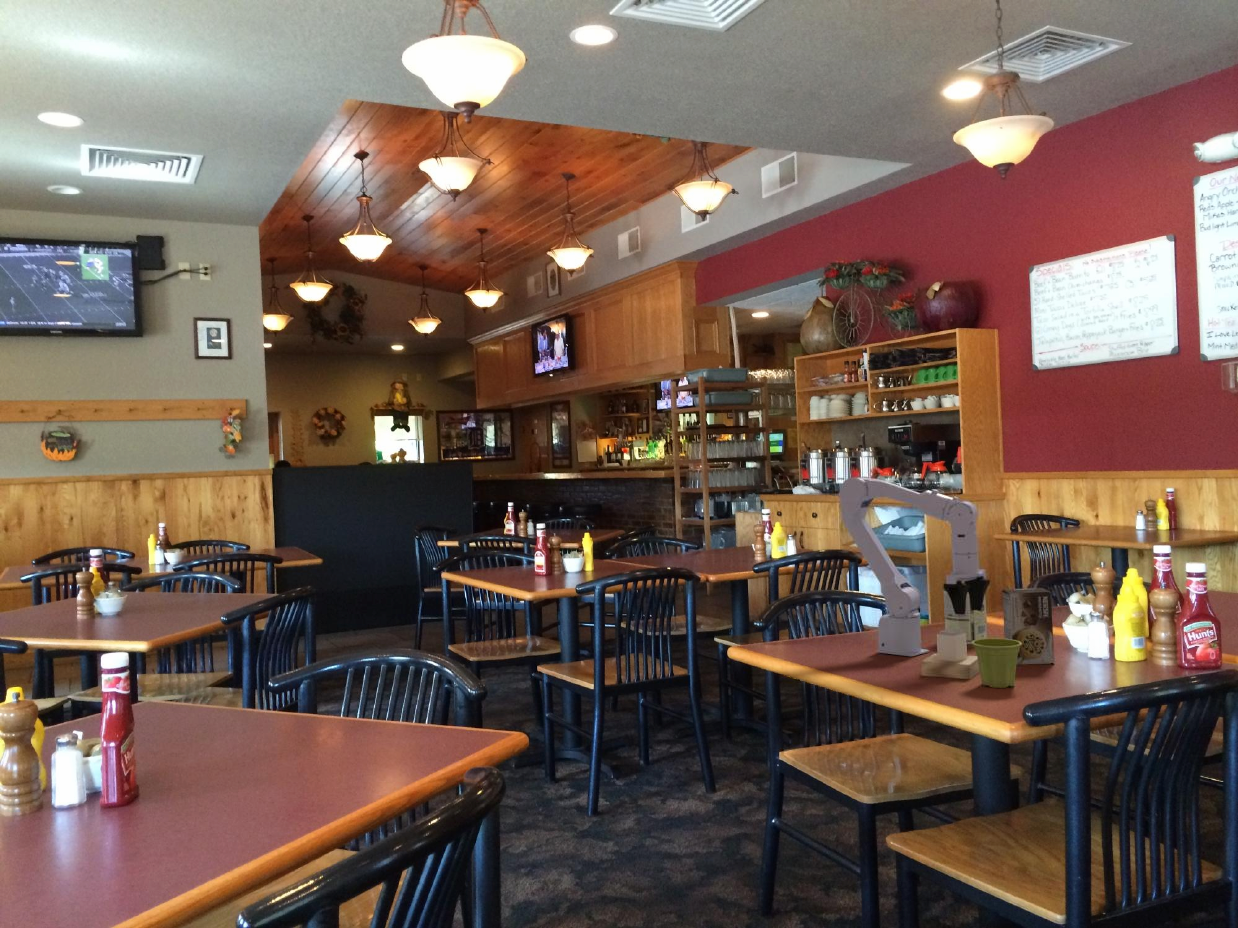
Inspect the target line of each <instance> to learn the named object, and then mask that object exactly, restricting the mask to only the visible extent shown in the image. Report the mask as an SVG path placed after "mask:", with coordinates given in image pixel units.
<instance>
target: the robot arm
mask: <svg viewBox="0 0 1238 928" xmlns="http://www.w3.org/2000/svg"><path fill="white" fill-rule="evenodd" d="M883 497H884V498H888V499H891V500H894V501H897V502H902V503H906V504H908V505H911V506H915V507H916V509H917V510H918V512H919V513H920V514H922V515H925V516H928V517H931V518H934V519H938V520H940V521H943V522H948V523H949V524H950V529H951V534H950V538H951V540H950V541H951V556H952V572H951V573H950V574H946V576H945V579H946V580H945V581H946V582H944V583H942V584H943V585H944V589H945V590H946V591H947V593H948V595H949V597H950V599H951V602H952V605H953V609H954V612H955V614H959V615H964V614H965V611H966V596H967V592H968V593H969V597H970V604H971V608H972V610H979V611H980V610H982V605H983V600H984V595H985V592H987V589H988V587H989V585H990V583H991V580H990V578H987V570H986V569H980V564H979V563H980V560H979V544H978V541H979V540H978V531H977V522H976V521H977V520H978V517H979V510H978V507H977V506H976V505H975V504H974V503H973V502H970V501H969V500H967V499H966V500H965V499H964V500H961V501H960V500H959V497H957V496H953V497H951V496H948V495H945V494H941V493H940V492H939V490H937V489H931V490H925V491H923V492H917V491H915V490H912V489H910V488H907V487H905V486H902V485H898V484H895V483H893V482H890V481H887V480H882V479H880V478H871V477H869V476H860V477H848V478H846V479H845V480H844V481H843V483H842V485H841V487H840V489H839V492H838V498H839V501H840V514H841V516H840V517H841V521H842V524H843V525H844V527H845V528H846V530H847V532H848V533H849V535H850V537H851V538H852V540H853V541H854V543H855V544H856V546H857V548H858V550H859V551H860V553H861V555H862V556H863V558H864V559H865V560H866V563H867V564H868V566H869V567H870V569H871V570H872V572H873V574H874V575H875V577H876V579H877V581H878V582H879V584H880V592H881V594H882V596H883V598H884V604H885V607H886V608H885V609H886V610H887V611H888V614H883V615H882V616H880V617H879V620H878V622H877V623H878V624H877V626H878V627H877V634H878V635H877V636H878V637H877V638H878V639H877V640H878V649H877V650H876V652H877V653H881V654H888V655H897V656H904V657H914V656H918V655H922V654H926V653H929V652H930V650H929V649H924V648H922V637H921V636H922V635H921V613H920V612H919V610H918V609H919V608H920V607H921V606H922V601H923V598H922V597H923V596H922V593H921V592H920V591H919V590H918V588H916V587H915V586H913V585H912V583H910V582H909V580H908V579H907V578H906V577H905V576H904V575H902V574H901V573H900V571H899V570H898V569H897V567H896V565H895V564H894V562H893V561H892V558H891V557H890V556H889V553H888V552H887V551H886V550H885V548H884V546H883V545H882V543H881V541H880V540H879V538H878V536H877V535H876V533H875V532H874V530H873V528H872V527H871V525H870V524H869V522H868V521H867V519H866V515H867V513H868V509H869V506H870V505H871V504H872V502H873V501H874V500H875V499H877V498H883ZM963 583H965V584H966V585H963ZM943 585H942V586H943Z"/></svg>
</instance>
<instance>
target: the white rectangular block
mask: <svg viewBox="0 0 1238 928" xmlns="http://www.w3.org/2000/svg"><path fill="white" fill-rule="evenodd" d="M967 645H968V644H967V643H966V633H963V631H961V630H951V629H947V630H945V629H943V630H939V633H937V634H936V649H937V650H936V654H937V655H938V660H946V661H954V662H958V661H961V660H964V659H967V656H968V649H967V648H968V647H967Z"/></svg>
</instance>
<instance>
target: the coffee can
mask: <svg viewBox="0 0 1238 928" xmlns="http://www.w3.org/2000/svg"><path fill="white" fill-rule="evenodd" d="M962 583H963V585H966V584H965V582H962ZM942 590H943V607H944V608H943V609H944V612H943V613H944V626H945V627H944V630H947V629H951V630H961V631H963V633H966V643H967V645H972V641H974V640H977V639H988V638H989V637H988V619H987V616H988V615H987V594H986V592H987V591H986V592H985V595H984V600H983V605H982V610H980V611H979V610H972V608H971V604H970V597H969V593H968V592H967V596H966V611H965V614H964V615H959V614H955V612H954V609H953V605H952V602H951V599H950V597H949V595H948V593H947V591H946V590H945V589H944V585H942Z"/></svg>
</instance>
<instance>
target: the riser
mask: <svg viewBox="0 0 1238 928" xmlns="http://www.w3.org/2000/svg"><path fill="white" fill-rule="evenodd" d="M920 662H921V676H924V677H936V678H937V677H938V678H946V679H948V678H949V679H961V680H971V679H973V678H974V677H975V676H976V675H978V674H980V670H979V664H978V659H977V655H967V659H964V660H961V661H958V662H954V661H946V660H938V655H937V652H936V653H933V654H931V655H929V656H928V657H926V658H924V659H923V660H921V661H920Z"/></svg>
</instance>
